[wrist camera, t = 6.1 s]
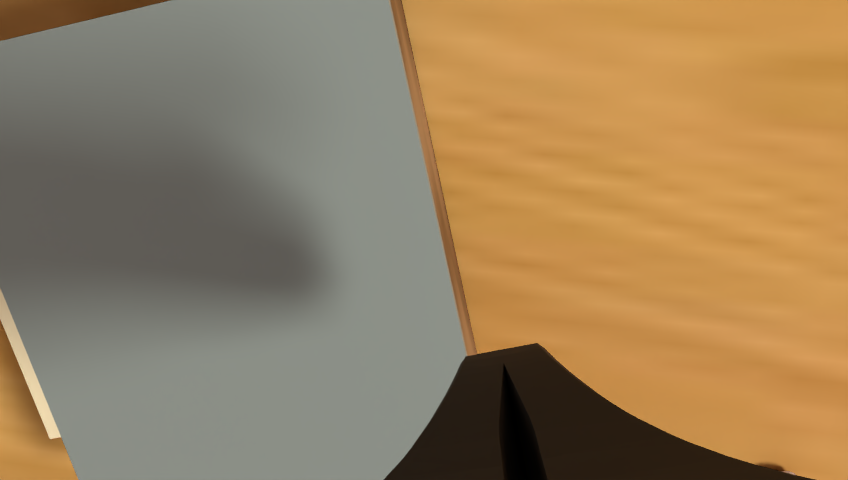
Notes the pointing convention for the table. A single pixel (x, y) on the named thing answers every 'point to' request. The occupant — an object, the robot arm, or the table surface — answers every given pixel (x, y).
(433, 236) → the lid
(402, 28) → the box
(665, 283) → the table surface
